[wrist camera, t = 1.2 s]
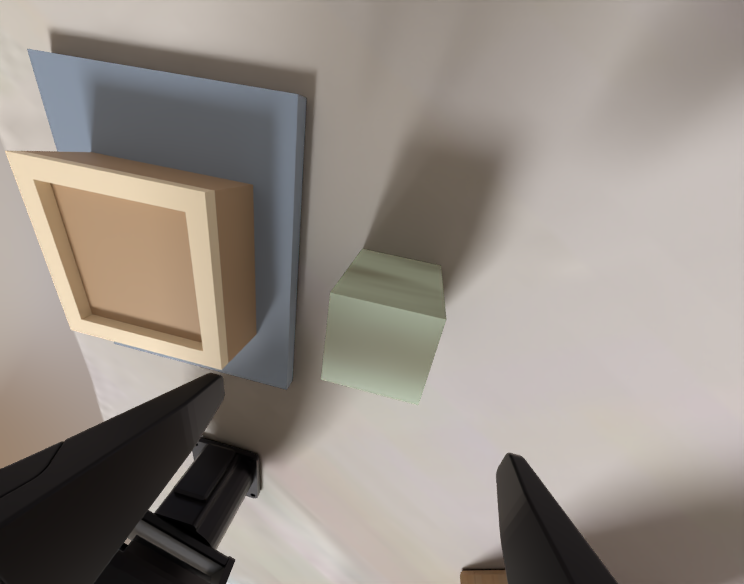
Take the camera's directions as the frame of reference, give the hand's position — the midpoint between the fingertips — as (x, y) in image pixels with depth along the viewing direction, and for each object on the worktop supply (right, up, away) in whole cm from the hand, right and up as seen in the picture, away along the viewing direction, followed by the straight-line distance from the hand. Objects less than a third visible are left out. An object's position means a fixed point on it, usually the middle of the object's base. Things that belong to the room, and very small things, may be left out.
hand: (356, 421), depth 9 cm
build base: (-11, +7, +10) cm, 16 cm away
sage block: (+2, +4, +8) cm, 9 cm away
